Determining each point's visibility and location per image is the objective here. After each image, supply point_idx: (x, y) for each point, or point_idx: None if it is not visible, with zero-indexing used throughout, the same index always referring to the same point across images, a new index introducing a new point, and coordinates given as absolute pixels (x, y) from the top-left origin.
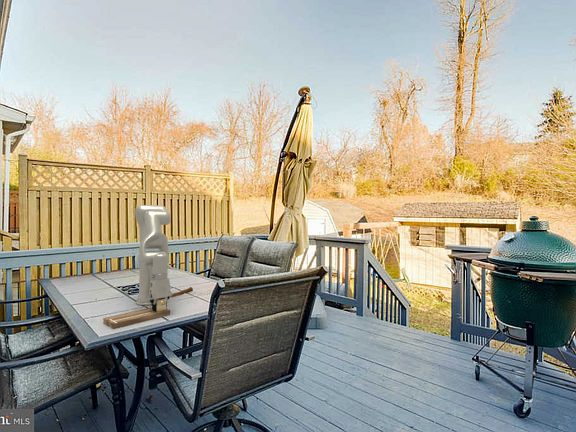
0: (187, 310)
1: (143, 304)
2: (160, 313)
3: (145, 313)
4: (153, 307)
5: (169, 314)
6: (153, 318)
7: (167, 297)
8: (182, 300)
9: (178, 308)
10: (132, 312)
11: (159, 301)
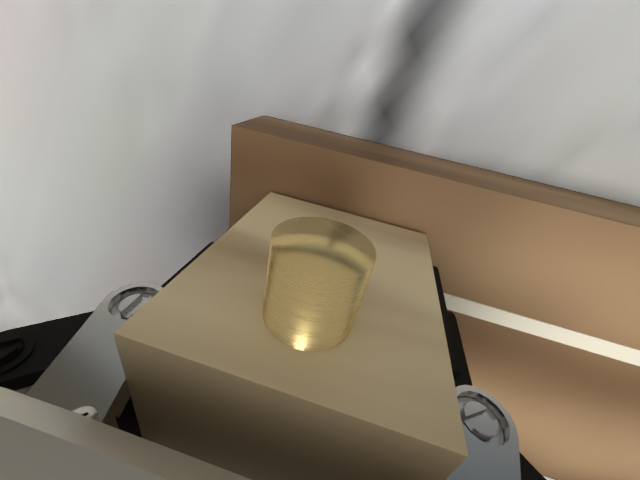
0: (21, 56)
1: None
2: (415, 166)
3: (552, 335)
4: (458, 342)
5: (270, 119)
6: (525, 182)
7: (42, 371)
8: (11, 319)
9: (90, 213)
10: (549, 459)
11: (381, 379)
